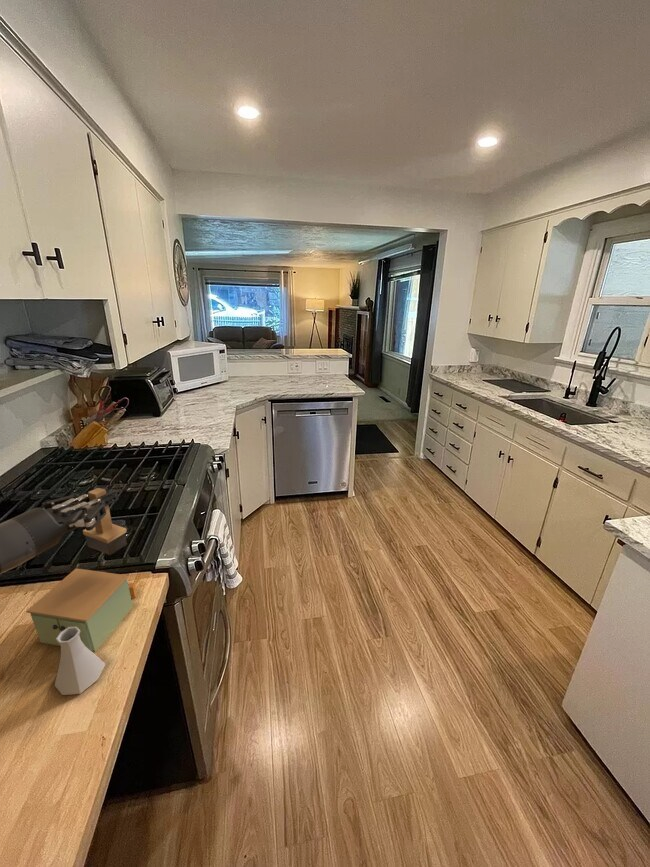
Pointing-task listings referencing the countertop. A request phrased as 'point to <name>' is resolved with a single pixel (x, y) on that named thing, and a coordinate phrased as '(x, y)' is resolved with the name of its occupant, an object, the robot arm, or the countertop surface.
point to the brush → (105, 530)
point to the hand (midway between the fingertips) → (111, 493)
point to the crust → (132, 590)
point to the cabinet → (83, 607)
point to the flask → (76, 664)
